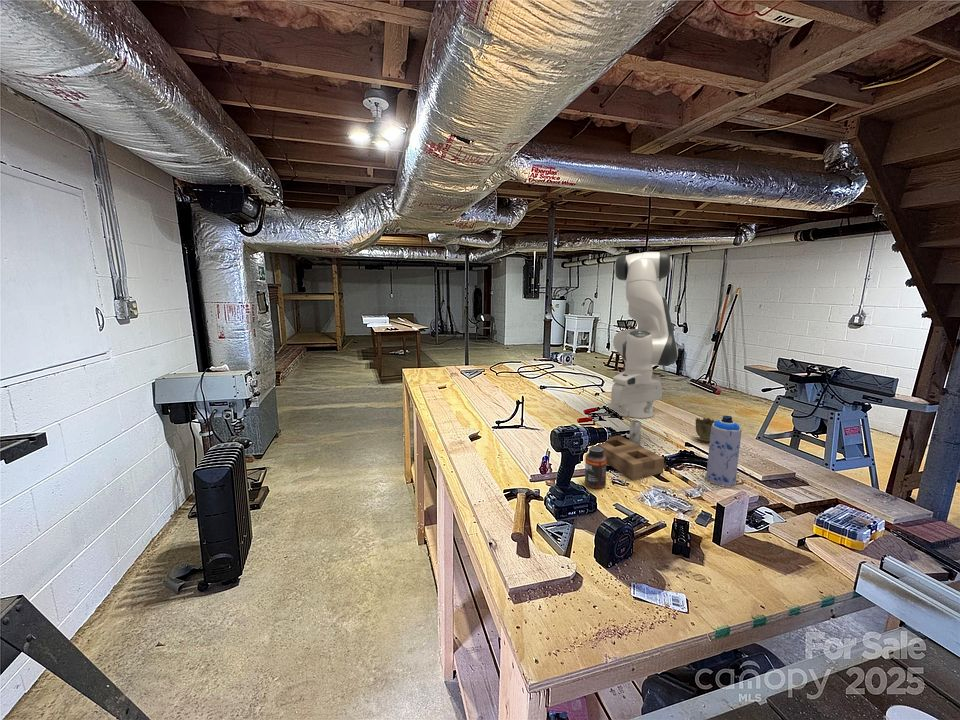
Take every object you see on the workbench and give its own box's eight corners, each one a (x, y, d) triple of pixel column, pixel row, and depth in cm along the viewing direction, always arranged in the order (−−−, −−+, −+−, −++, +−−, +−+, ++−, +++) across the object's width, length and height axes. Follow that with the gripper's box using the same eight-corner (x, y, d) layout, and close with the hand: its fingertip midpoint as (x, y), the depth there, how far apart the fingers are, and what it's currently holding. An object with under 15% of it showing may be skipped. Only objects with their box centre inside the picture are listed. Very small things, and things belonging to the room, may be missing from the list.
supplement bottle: (605, 481, 114) (607, 445, 112) (605, 491, 109) (607, 454, 107) (585, 478, 116) (586, 443, 114) (583, 487, 111) (585, 451, 109)
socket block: (591, 453, 133) (591, 440, 132) (618, 448, 137) (619, 435, 136) (632, 480, 115) (633, 464, 114) (663, 472, 119) (664, 457, 118)
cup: (710, 437, 146) (712, 417, 144) (720, 445, 139) (722, 424, 137) (690, 436, 147) (692, 417, 145) (699, 444, 139) (701, 423, 138)
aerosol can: (734, 477, 115) (742, 414, 112) (737, 489, 109) (745, 422, 105) (704, 471, 119) (711, 410, 115) (705, 483, 112) (712, 418, 108)
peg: (626, 444, 141) (628, 421, 139) (634, 442, 142) (636, 419, 140) (633, 448, 137) (635, 424, 136) (641, 446, 139) (643, 423, 137)
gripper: (653, 372, 141) (652, 408, 143) (608, 377, 134) (607, 415, 136) (667, 375, 135) (665, 413, 138) (621, 381, 128) (620, 420, 130)
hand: (636, 414), depth 137 cm, fingers open, 8 cm apart
